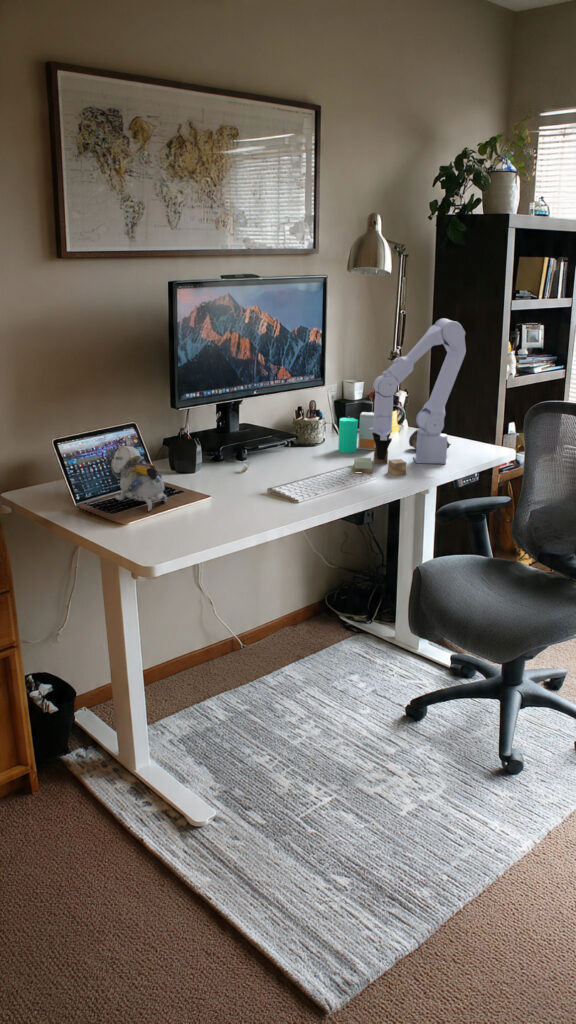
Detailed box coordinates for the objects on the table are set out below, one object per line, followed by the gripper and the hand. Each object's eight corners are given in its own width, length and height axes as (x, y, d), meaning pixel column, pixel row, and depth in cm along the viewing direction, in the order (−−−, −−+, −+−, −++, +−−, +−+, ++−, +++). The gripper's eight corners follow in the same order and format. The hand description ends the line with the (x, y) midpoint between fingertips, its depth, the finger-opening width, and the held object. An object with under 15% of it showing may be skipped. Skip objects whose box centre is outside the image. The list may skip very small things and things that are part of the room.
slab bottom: (371, 470, 256) (371, 464, 256) (372, 475, 251) (372, 468, 250) (353, 469, 256) (353, 463, 256) (354, 474, 251) (354, 468, 251)
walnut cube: (386, 460, 266) (387, 448, 264) (387, 463, 262) (388, 451, 260) (373, 459, 266) (374, 447, 264) (374, 463, 262) (375, 450, 261)
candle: (356, 453, 273) (358, 416, 270) (338, 452, 274) (340, 416, 270) (355, 448, 279) (357, 413, 275) (337, 448, 279) (339, 412, 275)
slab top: (370, 464, 255) (370, 457, 255) (371, 468, 251) (372, 462, 250) (354, 463, 255) (354, 457, 255) (355, 468, 251) (355, 461, 250)
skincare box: (357, 449, 278) (359, 414, 274) (360, 446, 282) (362, 411, 278) (375, 451, 276) (377, 415, 272) (378, 448, 280) (380, 412, 276)
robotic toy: (134, 491, 230) (132, 438, 225) (178, 504, 220) (177, 449, 215) (97, 502, 221) (94, 446, 216) (141, 516, 210) (139, 458, 205)
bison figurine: (407, 448, 281) (414, 455, 271) (408, 428, 279) (416, 433, 270) (441, 449, 282) (450, 455, 273) (443, 428, 280) (452, 434, 271)
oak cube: (399, 471, 254) (400, 459, 252) (405, 475, 250) (406, 462, 249) (387, 472, 253) (388, 459, 251) (393, 476, 249) (394, 463, 248)
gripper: (368, 409, 266) (366, 451, 270) (371, 419, 252) (369, 463, 257) (391, 410, 266) (388, 451, 270) (395, 420, 252) (392, 463, 256)
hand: (380, 457), depth 263 cm, fingers closed on walnut cube, 4 cm apart
